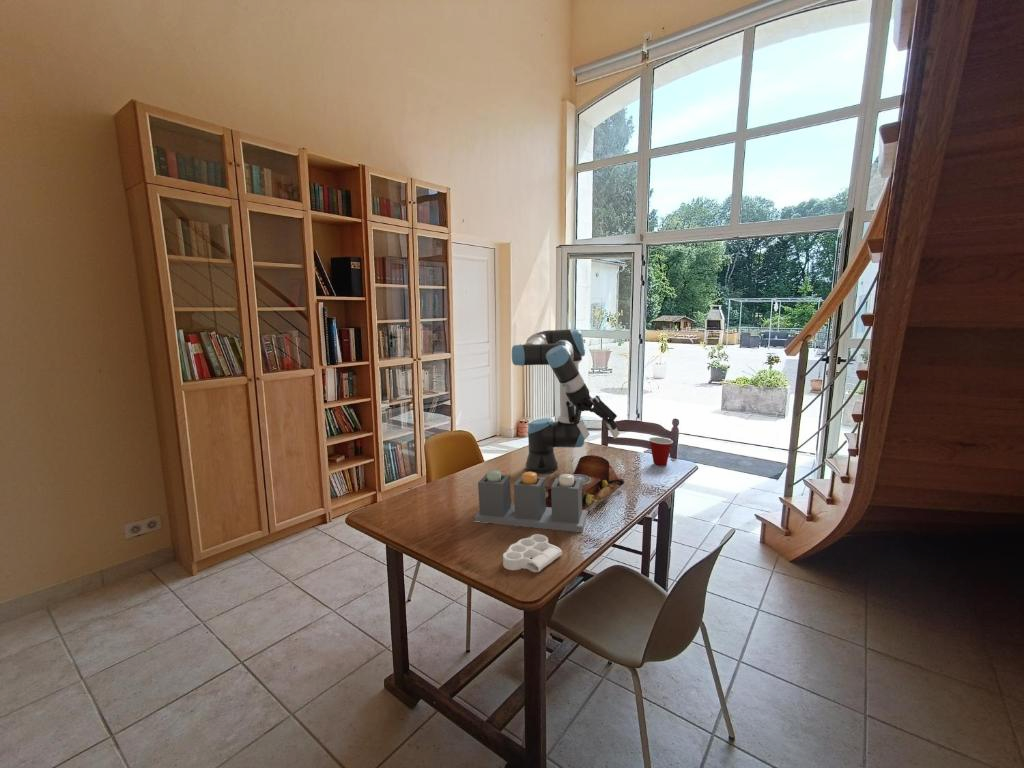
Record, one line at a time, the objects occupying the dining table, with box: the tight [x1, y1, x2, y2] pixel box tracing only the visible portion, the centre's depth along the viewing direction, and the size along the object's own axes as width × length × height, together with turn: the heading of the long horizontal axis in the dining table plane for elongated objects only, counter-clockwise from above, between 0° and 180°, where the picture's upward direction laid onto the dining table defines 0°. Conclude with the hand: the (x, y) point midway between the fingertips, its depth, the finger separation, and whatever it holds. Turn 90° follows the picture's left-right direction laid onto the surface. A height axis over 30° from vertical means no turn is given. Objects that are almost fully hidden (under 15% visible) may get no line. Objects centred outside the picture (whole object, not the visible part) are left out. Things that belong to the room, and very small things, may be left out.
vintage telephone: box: [545, 454, 625, 510], centre depth 183 cm, size 24×12×40 cm
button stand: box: [473, 473, 588, 533], centre depth 161 cm, size 38×13×14 cm, turn 74°
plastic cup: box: [648, 436, 674, 467], centre depth 214 cm, size 11×11×12 cm
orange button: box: [521, 471, 538, 485], centre depth 160 cm, size 5×5×4 cm
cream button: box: [558, 473, 574, 487], centre depth 156 cm, size 5×5×4 cm
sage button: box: [486, 469, 502, 482], centre depth 164 cm, size 5×5×4 cm
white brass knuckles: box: [502, 533, 563, 573], centre depth 136 cm, size 3×18×15 cm
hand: (601, 436), depth 164 cm, fingers open, 13 cm apart
